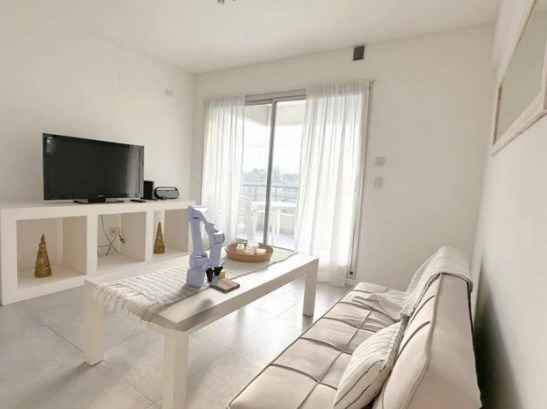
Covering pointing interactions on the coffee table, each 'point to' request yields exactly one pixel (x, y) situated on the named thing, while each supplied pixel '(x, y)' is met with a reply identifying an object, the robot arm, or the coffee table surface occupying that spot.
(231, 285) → the walnut base
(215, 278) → the grey block
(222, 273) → the mustard block
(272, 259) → the coffee table surface
